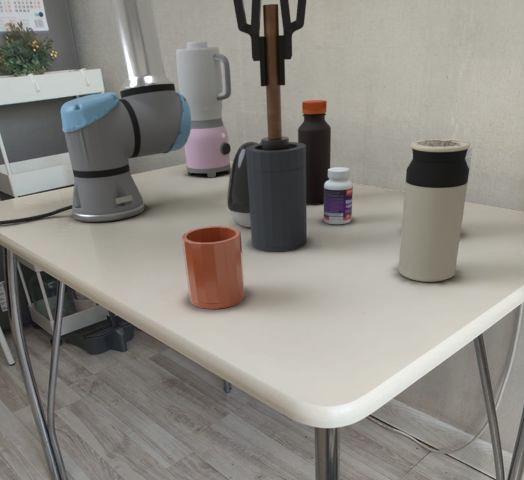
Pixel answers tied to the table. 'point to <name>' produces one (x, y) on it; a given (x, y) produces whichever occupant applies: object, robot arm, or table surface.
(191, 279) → the pen pot
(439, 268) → the travel mug
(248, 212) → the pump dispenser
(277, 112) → the brush
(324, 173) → the vinegar
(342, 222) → the pill bottle
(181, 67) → the blender
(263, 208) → the utensil holder
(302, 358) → the table surface
